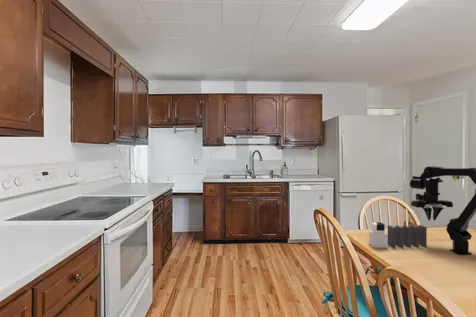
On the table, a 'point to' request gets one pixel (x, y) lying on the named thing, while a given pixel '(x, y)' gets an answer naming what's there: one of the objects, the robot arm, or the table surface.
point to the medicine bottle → (378, 236)
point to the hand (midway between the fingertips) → (431, 220)
